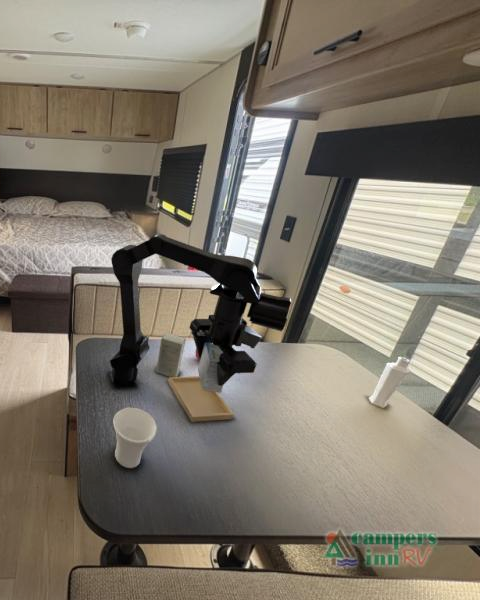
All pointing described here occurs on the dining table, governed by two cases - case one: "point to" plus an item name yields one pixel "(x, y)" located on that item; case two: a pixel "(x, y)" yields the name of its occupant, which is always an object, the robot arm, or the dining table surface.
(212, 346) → the medicine box
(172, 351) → the cosmetic box
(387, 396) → the perfume bottle
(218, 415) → the holder
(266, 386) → the dining table surface
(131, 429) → the cup
